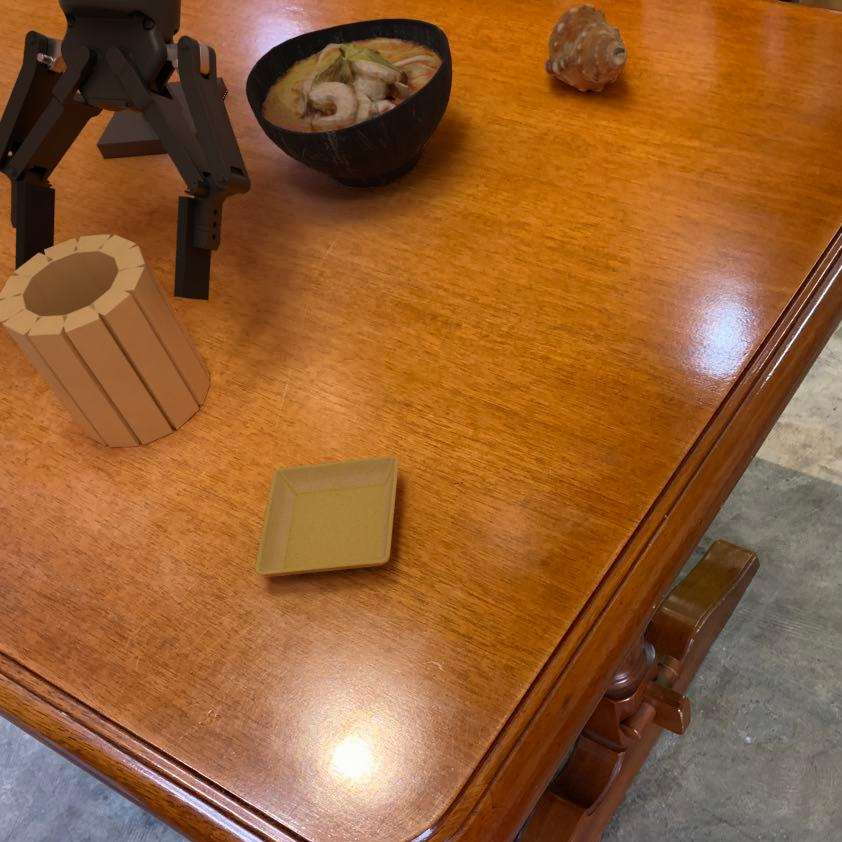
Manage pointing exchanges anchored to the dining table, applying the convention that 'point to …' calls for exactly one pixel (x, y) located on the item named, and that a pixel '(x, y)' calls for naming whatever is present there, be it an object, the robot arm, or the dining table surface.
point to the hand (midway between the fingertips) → (110, 289)
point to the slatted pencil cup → (105, 339)
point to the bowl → (355, 97)
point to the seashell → (585, 49)
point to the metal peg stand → (141, 129)
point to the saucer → (329, 517)
